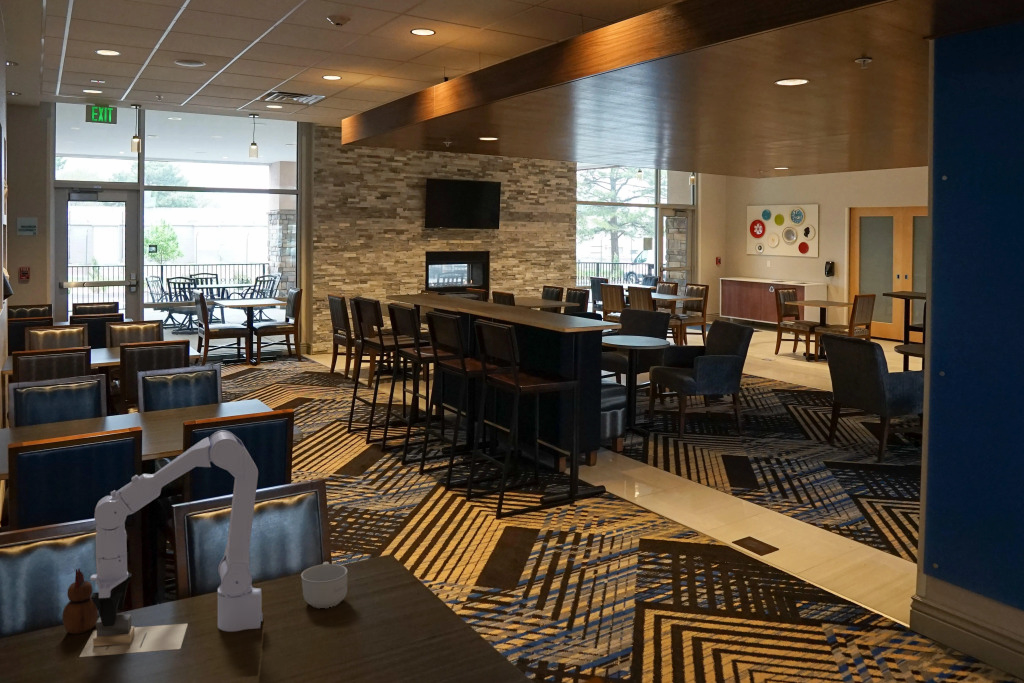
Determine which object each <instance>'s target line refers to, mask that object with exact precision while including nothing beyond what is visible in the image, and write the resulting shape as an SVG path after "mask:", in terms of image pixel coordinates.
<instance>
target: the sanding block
mask: <svg viewBox="0 0 1024 683" xmlns="http://www.w3.org/2000/svg"><path fill="white" fill-rule="evenodd" d="M134 627H135V625H132V614H130V613H129V614H127V613H126V614H117V615H116V621H115V624H114V626H105V627H103V625H102V622H101V618H100V616H99V617H98V618H97V620H96V630H97V632H96V634H95V636H94V638H93V648H95V647H107V646H120V645H130V644H131V642H132V640H133V637H134V635H135V633H134Z"/></svg>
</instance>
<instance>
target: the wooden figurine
mask: <svg viewBox="0 0 1024 683" xmlns="http://www.w3.org/2000/svg"><path fill="white" fill-rule="evenodd" d="M74 580H75V581H74V582H72V583H71V584H70V585H69V587H68V589H67V599H68V602H67V604H66V605H65V606H64V607H63V611H62V623H63V627H64V629H65V631H66V633H69V634H81V633H82V634H83V633H85V632H88V631H90V630H92V629H93V628H94V627H95V626H96V625H97V621H98V615H99V612H98V609H97V607H96V606H95V604H94V603H93V602H92V599H91V596H92V594H93V586H92V583H91V581H86V580H85V577H84V573H82V571H81V569H80V568H76V569H75V579H74Z"/></svg>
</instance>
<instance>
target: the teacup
mask: <svg viewBox="0 0 1024 683" xmlns="http://www.w3.org/2000/svg"><path fill="white" fill-rule="evenodd" d="M348 573H349V572H348V568H347V567H345V566H344V565H343V564H342V565H341V564H336V563H330V562H329V561H324V562H322V564H318V565H314V566H311V567H309V568H306V569H304V570H303V571H302V572H301V573H300V578H301V586H302V596H303V599H304V601H305V602H306V603H307V604H308V605H310V606H312V607H313V608H315V607H316V609H320V608H325V609H330V608H329V607H331V608H333V606H334V607H336V606H337V605H339V604H340V603H341V602H342V601H343V600H344V599H345V598H346V596H347V594H348Z"/></svg>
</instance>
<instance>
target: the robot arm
mask: <svg viewBox="0 0 1024 683" xmlns="http://www.w3.org/2000/svg"><path fill="white" fill-rule="evenodd" d="M211 462H212V463H213V464H214V465H215V466H216V467H219V468H220V469H223V470H226V471H228V473H230V475H231V476H233V477H234V483H233V492H232V501H231V509H230V515H229V516H230V517H229V525H228V533H227V534H228V535H227V540H226V541H227V543H226V547H225V549H224V553H223V558H222V559H221V561H220V562H219V564H218V569H217V570H218V575H219V577H220V581H221V582H220V585H219V586H218V588H217V628H218V629H219V630H220V631H224V632H239V631H245V630H253V629H256V630H257V629H261V624H262V622H263V617H264V616H263V612H262V596H263V595H262V588H260V587H259V588H258V587H257V588H256V587H253V585H252V582H253V578H252V574H251V572H250V546H251V537H252V536H251V535H252V528H253V519H254V513H255V512H254V511H255V504H256V496H257V487H258V478H259V470H258V467H257V465H256V463H255V462H254V459H253V458H252V457H251V455H250V453H249V451H248V450H247V448H246V447H245V445H244V442H243V441H242V440H241V439H240V438H239V437H238V436H236V435H235V434H234V433H232V432H231V431H229V430H224V429H223V430H218V431H215V432H214V433H212V434H211V435H210V436H207V437H205V438H203V439H201V440H200V441H198V442H196V443H195V444H194V445H192V446H190V448H188V449H186V451H184V452H183V453H181V454H180V455H178V456H177V457H176V458H174V459H173V460H171V461H170V462H168V463H166V465H164V466H163V467H162V468H160V469H159V470H157V471H156V472H154V473H152V474H151V473H142V474H141V475H138V474H135V475H133V476H132V477H131V481H130V482H129V483H127V484H125V485H124V486H122V487H121V488H120V489H118V490H115V489H114V490H113V491H110V495H105V496H104V497H102V498H101V499H99V500H98V502H97V504H96V506H95V508H94V514H93V515H94V521H95V523H96V525H95V531H96V534H95V557H96V558H95V559H96V560H95V561H96V565H95V566H96V574H92V575H91V576H90V581H89V582H95V583H96V585H97V586H98V592H92V595H91V599H92V602H93V603H94V604H95V606H96V607H97V609H98V615H99V617H100V618H101V622H102V625H103V627H105V626H114V624H115V621H116V615H118V611H123V608H124V604H125V598H126V595H127V594H126V593H127V589H128V585H129V584H130V581H131V578H132V576H133V574H132V573H131V572H129V571H128V552H127V550H128V548H127V531H126V528H125V527H126V524H125V523H126V520H127V516H129V515H132V514H135V513H136V512H137V511H140V509H143V507H145V506H146V505H148V504H149V503H151V502H152V501H154V500H156V499H157V498H158V497H159V496H160V495H161V493H162V488H163V487H164V486H166V485H167V484H169V483H171V482H173V481H174V480H176V479H178V478H179V477H181V476H183V475H184V474H187V472H189V471H191V470H193V469H194V468H197V467H199V468H200V467H201V468H212V466H211Z"/></svg>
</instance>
